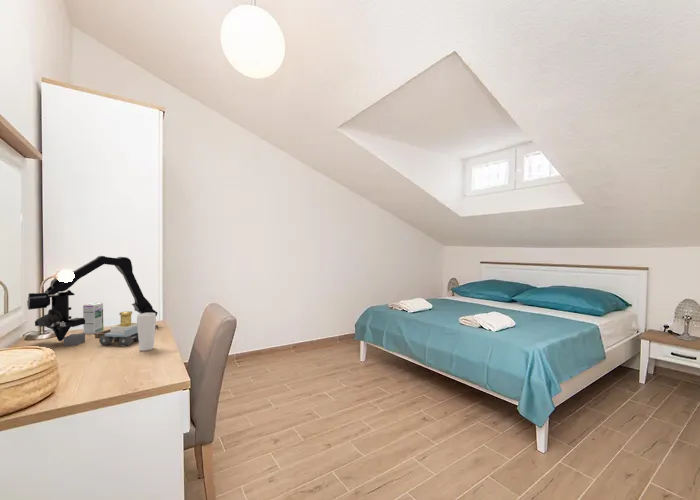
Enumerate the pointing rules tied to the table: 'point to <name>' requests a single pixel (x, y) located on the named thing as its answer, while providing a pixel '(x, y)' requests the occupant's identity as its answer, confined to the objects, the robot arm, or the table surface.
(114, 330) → the tray
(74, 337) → the block
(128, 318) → the stop pin
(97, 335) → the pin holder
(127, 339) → the trolley
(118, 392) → the table surface
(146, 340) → the drinking glass
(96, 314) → the syrup box
